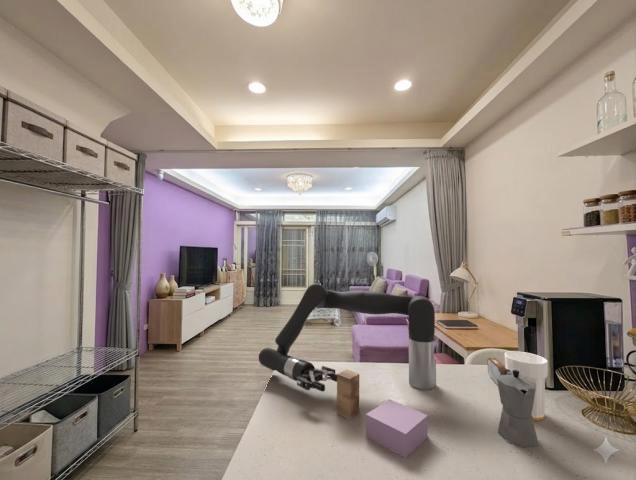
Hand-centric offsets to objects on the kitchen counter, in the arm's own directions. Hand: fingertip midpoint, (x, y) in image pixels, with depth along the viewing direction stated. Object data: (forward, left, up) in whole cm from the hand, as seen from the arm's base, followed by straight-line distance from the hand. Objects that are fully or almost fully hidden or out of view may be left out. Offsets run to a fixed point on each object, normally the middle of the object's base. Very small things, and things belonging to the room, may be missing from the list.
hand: (332, 383), depth 96 cm
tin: (-66, +14, -7) cm, 68 cm away
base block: (-8, +22, -7) cm, 24 cm away
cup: (-53, +31, -7) cm, 62 cm away
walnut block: (-2, +6, -7) cm, 9 cm away
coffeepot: (-38, +36, -7) cm, 53 cm away
